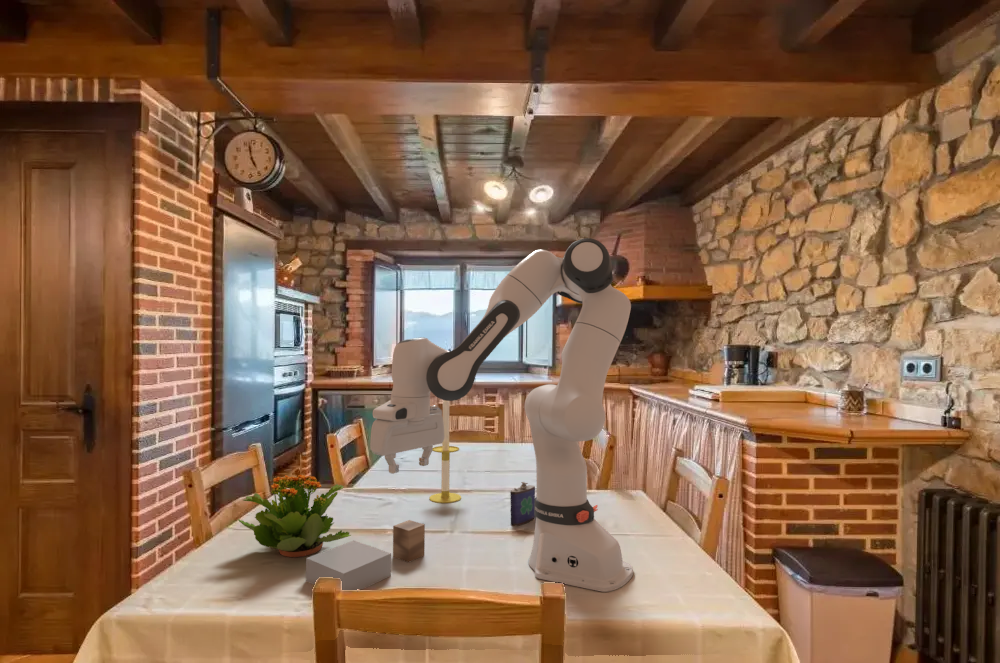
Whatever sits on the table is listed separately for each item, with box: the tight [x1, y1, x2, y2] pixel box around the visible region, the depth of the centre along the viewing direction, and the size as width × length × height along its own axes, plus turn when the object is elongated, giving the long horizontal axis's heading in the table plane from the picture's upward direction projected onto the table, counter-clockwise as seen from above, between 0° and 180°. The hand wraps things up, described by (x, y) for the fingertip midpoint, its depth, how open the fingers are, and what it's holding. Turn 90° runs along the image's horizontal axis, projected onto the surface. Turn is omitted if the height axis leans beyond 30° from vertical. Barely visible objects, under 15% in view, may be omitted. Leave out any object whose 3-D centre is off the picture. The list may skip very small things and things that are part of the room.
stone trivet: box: [305, 540, 392, 590], centre depth 110 cm, size 12×12×5 cm
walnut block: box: [392, 519, 426, 563], centre depth 122 cm, size 5×5×7 cm
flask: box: [509, 481, 536, 527], centre depth 146 cm, size 9×3×11 cm, turn 138°
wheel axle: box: [429, 400, 462, 504], centre depth 167 cm, size 10×10×32 cm
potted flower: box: [237, 474, 352, 558], centre depth 125 cm, size 25×24×18 cm
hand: (409, 468), depth 123 cm, fingers open, 8 cm apart
